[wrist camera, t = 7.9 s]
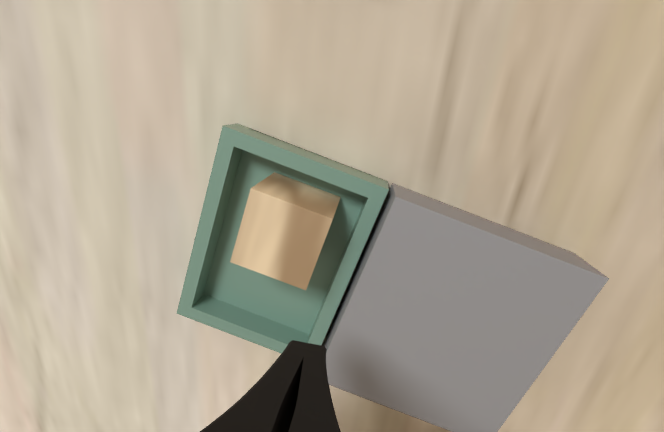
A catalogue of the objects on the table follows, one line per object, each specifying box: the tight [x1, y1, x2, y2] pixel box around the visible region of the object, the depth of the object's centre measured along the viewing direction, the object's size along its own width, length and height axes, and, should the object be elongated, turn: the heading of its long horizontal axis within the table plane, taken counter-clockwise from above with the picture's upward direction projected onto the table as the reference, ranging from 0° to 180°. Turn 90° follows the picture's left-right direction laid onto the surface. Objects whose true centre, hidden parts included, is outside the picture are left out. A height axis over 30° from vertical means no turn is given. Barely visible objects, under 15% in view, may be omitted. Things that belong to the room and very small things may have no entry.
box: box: [177, 124, 389, 353], centre depth 20 cm, size 9×12×2 cm
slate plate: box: [322, 183, 609, 432], centre depth 20 cm, size 11×12×3 cm
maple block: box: [230, 172, 340, 290], centre depth 18 cm, size 4×4×4 cm
